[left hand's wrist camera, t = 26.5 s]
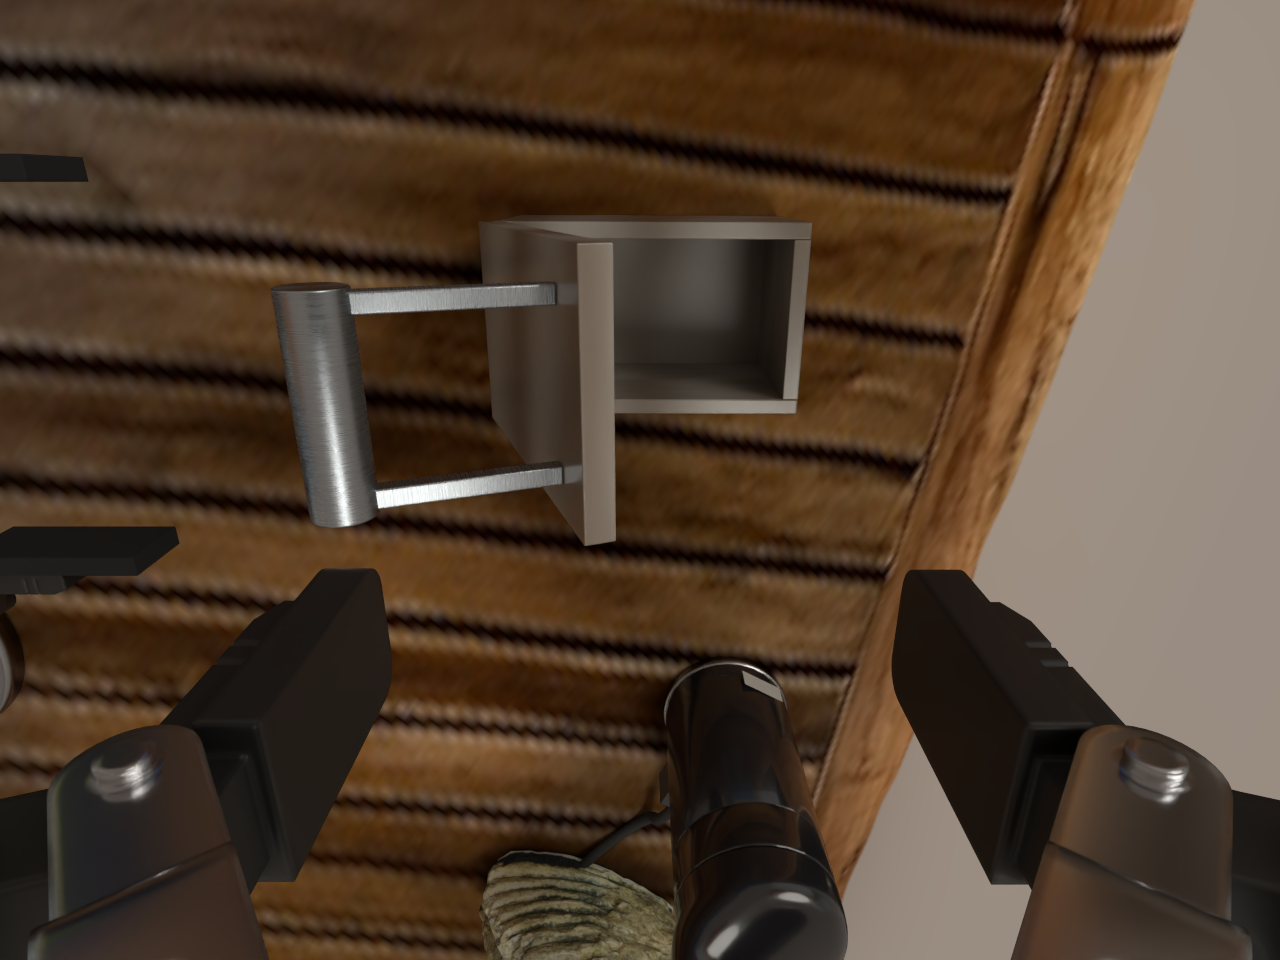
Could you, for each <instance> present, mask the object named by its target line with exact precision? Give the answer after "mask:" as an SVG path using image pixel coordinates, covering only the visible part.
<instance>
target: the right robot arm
mask: <svg viewBox="0 0 1280 960" xmlns="http://www.w3.org/2000/svg"><path fill="white" fill-rule="evenodd" d="M0 182H88V178H87V174H86V170H85V166H84V162H83V158H82V157H65V156H48V155H31V154H0ZM178 544H179V540H178V536H177V532H176V528H175V527H12V528H10V529H8V530H6V531H4V532H2V533H1V534H0V713H2V712H3V711H4V710H5V709H6V708H7V707H9V706H10V704H11V703H12V702H13V701H14V700H15V698H16V696H17V695H18V693H19V691H20V688H21V686H22V682H23V677H24V659H23V654H22V649H21V646H20V643H19V640H18V638H17V636H16V634H15V632H14V630H13V628H12V626H11V625H10V623H9V621H8V620H7V619H6V617H5V616H4V614H3V613H4V612H5V611H7V610H8V609H10V608H11V607H13V606H14V605H15V603H16V596H15V594H57V593H59V592H62V591H64V590H66V589H68V588H69V587H71V586H72V585H74V584H75V583H76V582H78V581H79V580H81V579H82V578H84V577H85V576H138V575H139V574H140V573H142V572H143V571H144V570H145V569H147V568H148V567H149V566H151V565H152V564H153V563H155V562H156V561H157V560H159V559H160V558H161V557H162V556H164V555H165V554H166V553H168V552H169V551H170V550H172V549H173V548H174V547H175V546H177V545H178Z"/></svg>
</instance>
